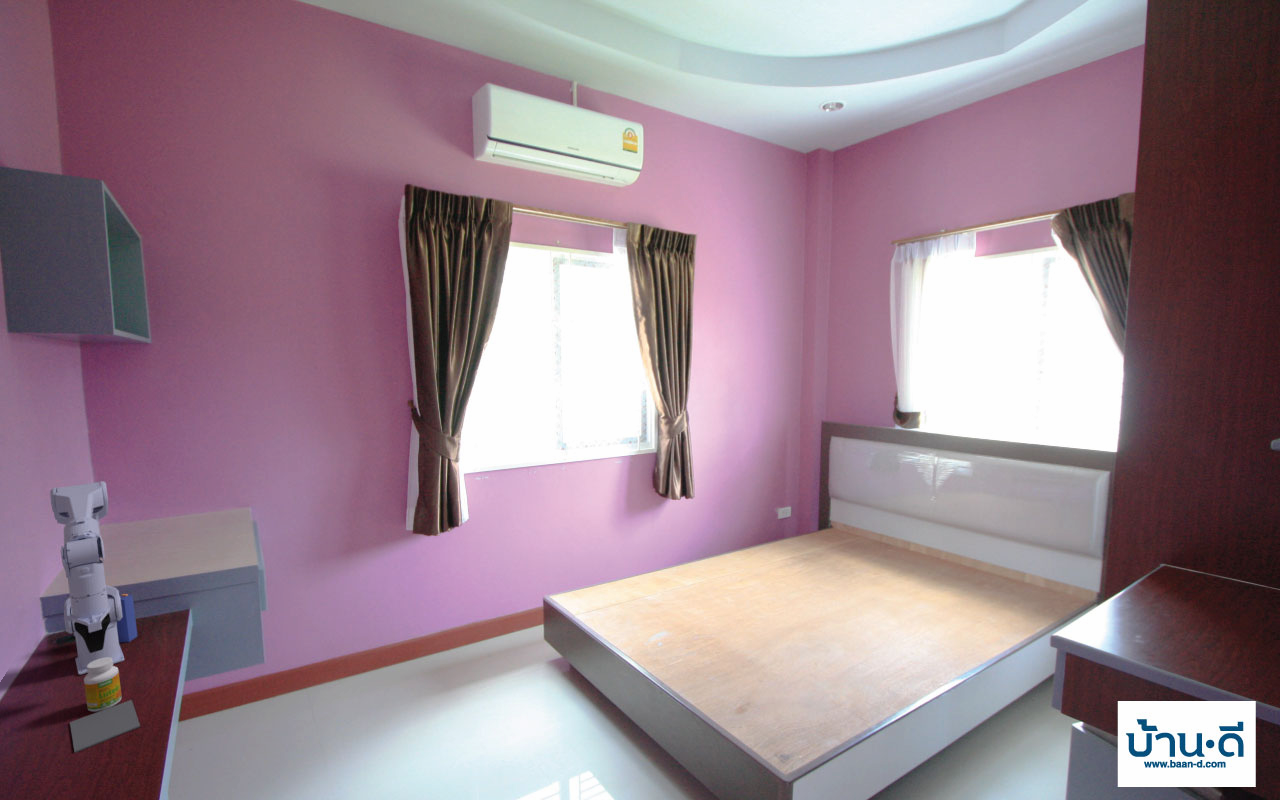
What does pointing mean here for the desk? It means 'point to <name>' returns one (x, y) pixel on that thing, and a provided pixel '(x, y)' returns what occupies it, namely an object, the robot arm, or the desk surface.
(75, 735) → the mat
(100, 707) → the supplement bottle
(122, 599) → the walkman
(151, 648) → the desk surface
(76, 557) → the robot arm
